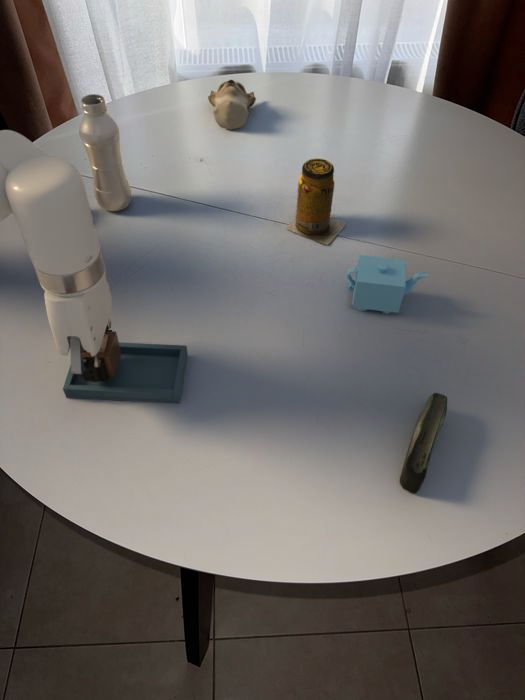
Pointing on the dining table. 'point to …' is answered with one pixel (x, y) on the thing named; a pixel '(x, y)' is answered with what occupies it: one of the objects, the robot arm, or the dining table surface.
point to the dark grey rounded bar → (423, 443)
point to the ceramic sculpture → (231, 104)
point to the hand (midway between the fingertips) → (101, 363)
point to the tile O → (109, 353)
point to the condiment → (316, 203)
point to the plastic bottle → (104, 154)
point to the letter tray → (137, 375)
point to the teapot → (380, 283)
